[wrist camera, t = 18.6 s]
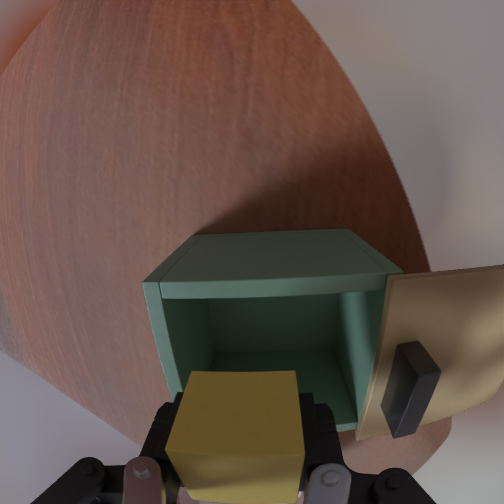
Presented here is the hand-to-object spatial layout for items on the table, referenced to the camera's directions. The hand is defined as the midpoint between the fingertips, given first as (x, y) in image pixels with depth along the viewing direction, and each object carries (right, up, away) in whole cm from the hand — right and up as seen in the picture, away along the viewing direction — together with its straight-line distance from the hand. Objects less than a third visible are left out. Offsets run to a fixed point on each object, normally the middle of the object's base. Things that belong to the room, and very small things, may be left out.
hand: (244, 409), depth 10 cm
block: (0, 0, 0) cm, 0 cm away
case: (+2, +3, +10) cm, 11 cm away
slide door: (+11, +1, +1) cm, 12 cm away
